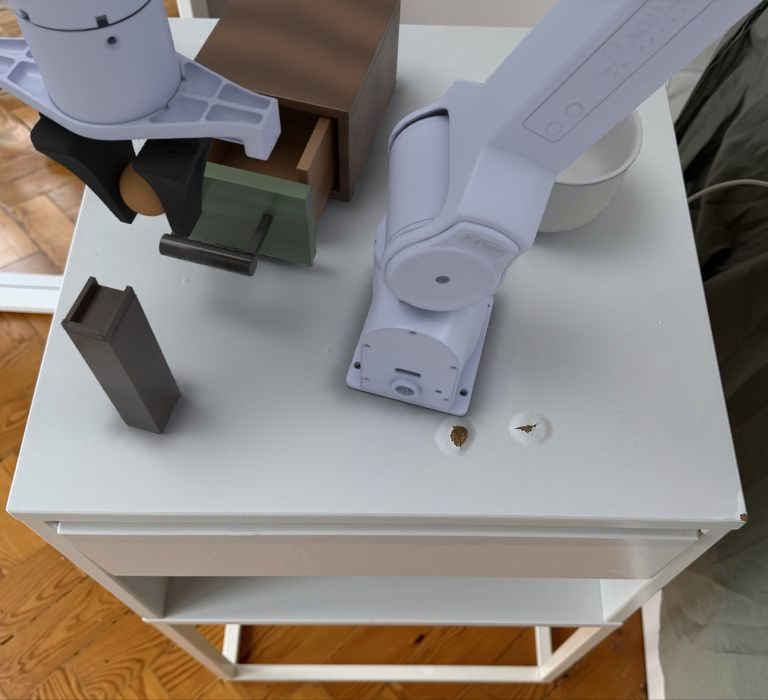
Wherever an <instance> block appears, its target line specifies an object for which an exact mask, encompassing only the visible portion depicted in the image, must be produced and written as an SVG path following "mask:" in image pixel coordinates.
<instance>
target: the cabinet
mask: <svg viewBox="0 0 768 700" xmlns="http://www.w3.org/2000/svg"><path fill="white" fill-rule="evenodd" d="M401 2H402V0H230V1H229V3H228V4H227V6H226V8H225V10H224V11H223V13H222V14H221V16H220V17H219V19H218V21H217V22H216V23H215V26H213V28H212V30H211V32H209V34H208V37H207V38H206V40H205V41H204V43H203V45H202V46H201V47H200V49H199V51H198V52H197V54H196V56H194V59H192V60H193V61H195V62H197V63H198V64H200V65H202V66H204V67H206V68H208V69H209V70H211V71H213V72H215V73H217V74H219V75H220V76H222V77H224V78H226V79H228V80H230V81H232V82H233V83H235V84H237V85H239V86H241V87H243V88H245V89H247V90H249V91H252V92H254V93H257V94H260V95H263V96H267V97H271V98H275V99H277V100H278V105H279V106H283V107H288V108H292V109H297V110H301V111H306V112H310V113H315V114H319V115H324V116H328V117H333V118H338V144H339V173H338V175H337V178H336V180H335V182H334V185H333V187H332V189H331V192H330V194H329V197H328V198H332V199H335V200H341V201H345V202H351V200H352V197H353V194H354V192H355V189H356V187H357V184H358V182H359V181H360V180H359V179H360V177H361V174H362V172H363V170H364V167H365V164H366V162H367V160H368V157H369V155H370V152H371V149H372V147H373V145H374V142H375V139H376V137H377V134H378V132H379V130H380V127H381V125H382V122H383V119H384V117H385V114H386V112H387V110H388V107H389V104H390V102H391V100H392V97H393V95H394V92H395V89H396V88H397V76H398V75H397V74H398V59H399V58H398V57H399V42H400V41H399V39H400V25H401V24H400V23H401V22H400V21H401V7H402V3H401Z"/></svg>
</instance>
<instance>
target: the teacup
mask: <svg viewBox="0 0 768 700" xmlns="http://www.w3.org/2000/svg"><path fill="white" fill-rule="evenodd" d="M643 137H644V130H643V122H642V119H641V118H640V115H639V111H638V110H637V108H636V109H635V110H633V111H632V112H631V113H630V114H629V115H627V116H626V117H625V118H624V119H623V120H622V121H620V122H619V123H618V124H617V125H616V126H615V127H613V128H612V129H611V130H610V131H609V132H608V133H606V134H605V135H604V136H603V137H602V138H601V139H599V140H598V141H597V142H596V143H595V144H594V145H592V146H591V147H590V148H589V149H588V150H586V151H585V152H584V153H583V154H582V155H581V156H579V157H578V158H577V159H576V160H575V161H574V162H572V163H571V164H570V165H569V166H568V167H567V168H565V169H564V170H563V171H562V172H561V173H560V174H558V176H557V177H556V180H555V182H554V184H553V187H552V190H551V193H550V196H549V199H548V202H547V205H546V208H545V210H544V213H543V216H542V219H541V222H540V225H539V228H538V231H537V232H541V233H563V232H567V231H572V230H576V229H578V228H580V227H582V226H585V225H586V224H588V223H590V222H591V221H593V220H594V219H595V218H596V217H598V216H599V215H600V214H601V213H602V212H603V211H604V210H605V209H606V207H607V206H608V205H609V204H610V202H611V201H612V200H613V198H614V197H615V194H616V193H617V191H618V190H619V188H620V186H621V185H622V182H623V181H624V178H625V177H626V175H627V173H628V171H629V169H630V167H631V166H632V165H633V164H634V163H635V161H636V159H637V158H638V156H639V154H640V151H641V148H642V145H643Z"/></svg>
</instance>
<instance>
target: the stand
mask: <svg viewBox="0 0 768 700" xmlns="http://www.w3.org/2000/svg"><path fill="white" fill-rule="evenodd" d="M60 326H61V327H62V328H63V330H64V331H65V332H66V334H67V335H68V337H69V339H70V340H71V342H72V343H73V345H74V347H75V348H76V349H77V352H78V353H79V354H80V356H81V358H82V359H83V361H84V362H85V364H86V365H87V367H88V368H89V369H90V371H91V373H92V374H93V376H94V378H95V379H96V381H97V382H98V384H99V385H100V387H101V388H102V390H103V391H104V393H105V395H106V396H107V397H108V399H109V401H110V402H111V404H112V406H113V407H114V408H115V410H116V412H117V413H118V414H119V417H120V418H121V419H122V421H123V422H124V424H125V425H126V426H130V427H133V428H138V429H141V430H144V431H149V432H152V433H155V434H160V435H162V434H163V432H164V430H165V428H166V425H167V424H168V421H169V419H170V418H171V415H172V413H173V411H174V409H175V406H176V404H177V403H178V401H179V398H180V396H181V394H182V393H181V391H180V388H179V386H178V384H177V381H176V379H175V377H174V374H173V372H172V371H171V368H170V366H169V363H168V361H167V359H166V358H165V355H164V353H163V350H162V348H161V346H160V344H159V341H158V339H157V337H156V335H155V333H154V331H153V328H152V326H151V324H150V321H149V319H148V317H147V315H146V313H145V310H144V308H143V306H142V303H141V302H140V299H139V298H138V295H137V293H136V292H135V290H134V288H133V286H131V285H126V287H125V288H124V290H121V289H118V288H113V287H110V286H106V285H102V284H99V282H98V280H97V278H96V277H95V276H92V275H90V276H89V277H88V278H87V280H86V282H85V284H84V285H83V287H82V289H81V290H80V292H79V294H78V295H77V297H76V299H75V301H73V304H72V306H71V307H70V308H69V310H68V312H67V314H66V315H65V317H64V318H63V319H62V320H61V322H60Z"/></svg>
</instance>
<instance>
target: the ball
mask: <svg viewBox="0 0 768 700" xmlns="http://www.w3.org/2000/svg"><path fill="white" fill-rule="evenodd" d="M132 163H133V162H131V163H130V164H129V165H128V166H127V167H126V168H125V169H124V171H123V172H122V174H121V177H120V183H119V187H120V193H121V196H122V198H123V200H124V202H125V203H126V204H127V206H128V207H130V208H131V209H132V210H133V211H135V212H136V213H138V214H137V215H141V216H145V217H158V216H163V215H164V214H165V212H164V209H163V206H162V204H161V202H160V200H159V198H158V197H157V195H156V193H155V192H154V191H153V189H152V188H151V186H150V185H149V184H148V183H147V182H146V181H145V180H144V179H143V178H142V177H141V176H140V175H139V174H137V173H136V172H135V171H133V168H132Z"/></svg>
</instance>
